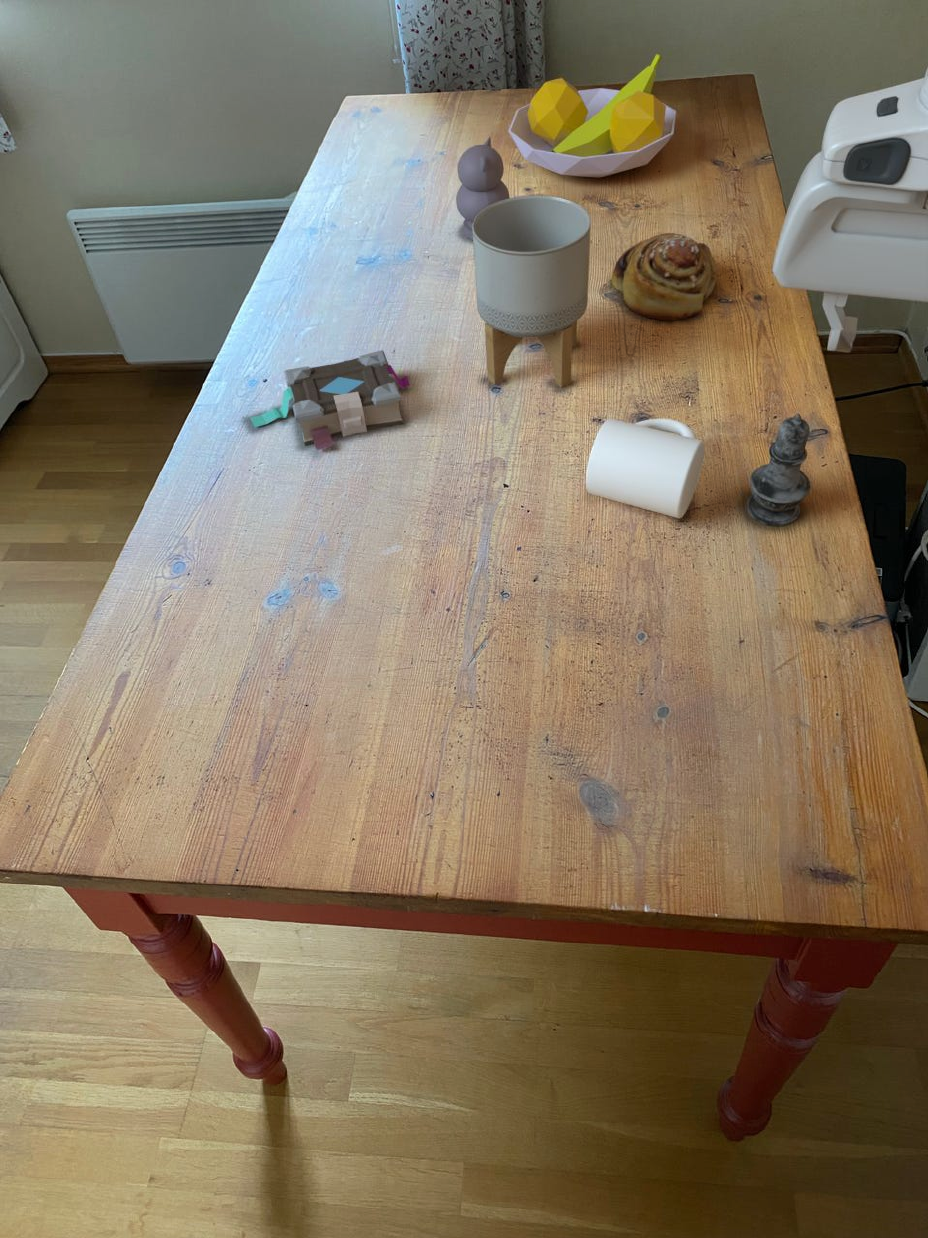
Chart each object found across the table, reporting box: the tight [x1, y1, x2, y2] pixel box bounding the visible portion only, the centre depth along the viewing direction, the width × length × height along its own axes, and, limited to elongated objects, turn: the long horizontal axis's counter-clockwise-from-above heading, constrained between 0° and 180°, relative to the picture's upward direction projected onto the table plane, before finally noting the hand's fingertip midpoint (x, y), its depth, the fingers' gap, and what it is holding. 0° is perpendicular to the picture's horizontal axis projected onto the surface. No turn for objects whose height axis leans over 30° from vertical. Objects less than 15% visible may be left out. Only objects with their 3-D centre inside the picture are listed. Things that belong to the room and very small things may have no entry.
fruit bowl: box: [508, 53, 677, 179], centre depth 142 cm, size 28×27×11 cm
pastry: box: [611, 232, 718, 321], centre depth 116 cm, size 13×15×8 cm
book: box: [249, 349, 411, 451], centre depth 104 cm, size 20×12×5 cm, turn 106°
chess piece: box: [746, 413, 811, 527], centre depth 87 cm, size 6×6×12 cm
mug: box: [585, 418, 706, 519], centre depth 92 cm, size 12×10×8 cm
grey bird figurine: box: [455, 136, 511, 241], centre depth 129 cm, size 8×8×12 cm
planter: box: [472, 194, 592, 389], centre depth 104 cm, size 13×13×18 cm
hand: (913, 355), depth 59 cm, fingers open, 8 cm apart
